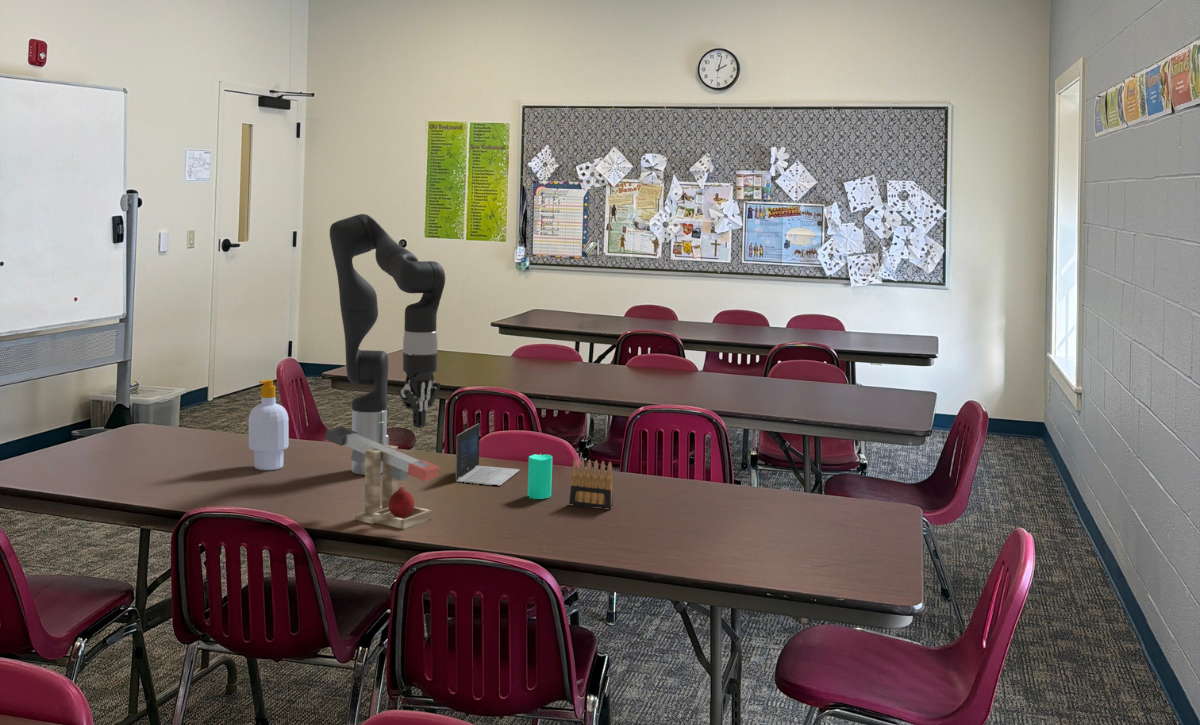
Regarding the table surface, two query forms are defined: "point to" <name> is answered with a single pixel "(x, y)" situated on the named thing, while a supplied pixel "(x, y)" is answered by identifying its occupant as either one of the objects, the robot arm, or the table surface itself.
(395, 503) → the onion
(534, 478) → the candle
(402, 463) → the lever
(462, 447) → the laptop
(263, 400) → the soap bottle
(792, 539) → the table surface
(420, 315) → the robot arm
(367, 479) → the press stand
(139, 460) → the table surface
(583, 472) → the ammunition clip
